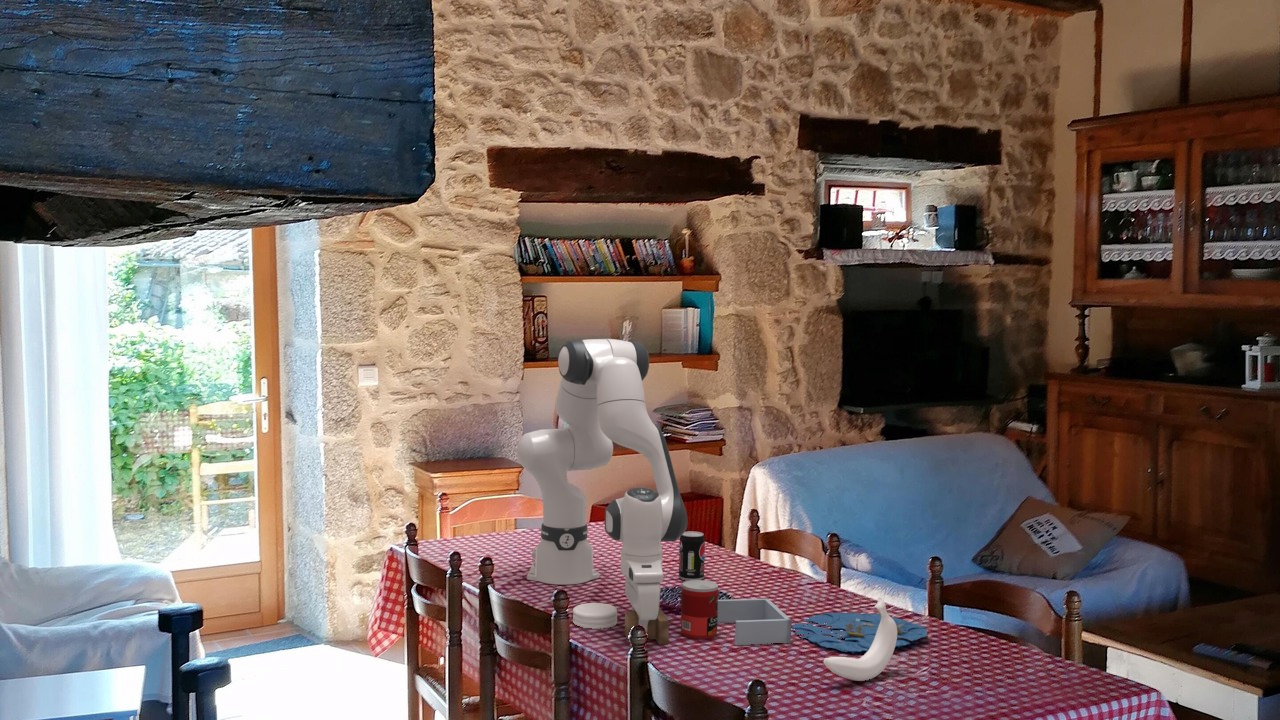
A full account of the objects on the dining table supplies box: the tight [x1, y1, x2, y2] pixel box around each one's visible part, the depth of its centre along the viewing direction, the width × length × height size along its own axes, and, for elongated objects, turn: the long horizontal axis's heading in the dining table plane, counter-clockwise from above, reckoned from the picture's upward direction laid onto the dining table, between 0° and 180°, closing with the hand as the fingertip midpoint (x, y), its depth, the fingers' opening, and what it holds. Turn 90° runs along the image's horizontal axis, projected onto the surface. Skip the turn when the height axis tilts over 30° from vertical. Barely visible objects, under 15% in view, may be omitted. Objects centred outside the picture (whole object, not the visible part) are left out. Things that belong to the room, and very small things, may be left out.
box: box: [717, 598, 792, 646], centre depth 236 cm, size 17×12×5 cm
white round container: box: [572, 602, 618, 630], centre depth 240 cm, size 10×10×4 cm
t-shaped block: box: [624, 606, 670, 645], centre depth 231 cm, size 8×12×5 cm, turn 10°
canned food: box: [680, 579, 719, 640], centre depth 233 cm, size 8×8×11 cm
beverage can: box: [678, 530, 706, 582], centre depth 280 cm, size 7×7×12 cm
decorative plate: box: [791, 612, 929, 654], centre depth 236 cm, size 30×30×5 cm
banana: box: [823, 596, 897, 682], centre depth 207 cm, size 5×19×15 cm, turn 132°
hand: (640, 628), depth 231 cm, fingers closed on t-shaped block, 4 cm apart
